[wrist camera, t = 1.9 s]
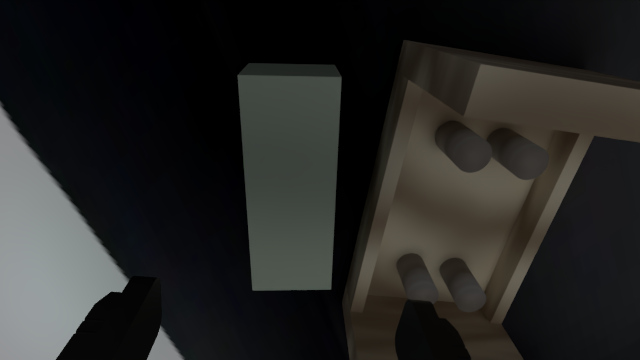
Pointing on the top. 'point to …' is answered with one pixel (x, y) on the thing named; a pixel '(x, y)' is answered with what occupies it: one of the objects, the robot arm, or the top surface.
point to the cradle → (471, 188)
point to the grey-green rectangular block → (290, 172)
